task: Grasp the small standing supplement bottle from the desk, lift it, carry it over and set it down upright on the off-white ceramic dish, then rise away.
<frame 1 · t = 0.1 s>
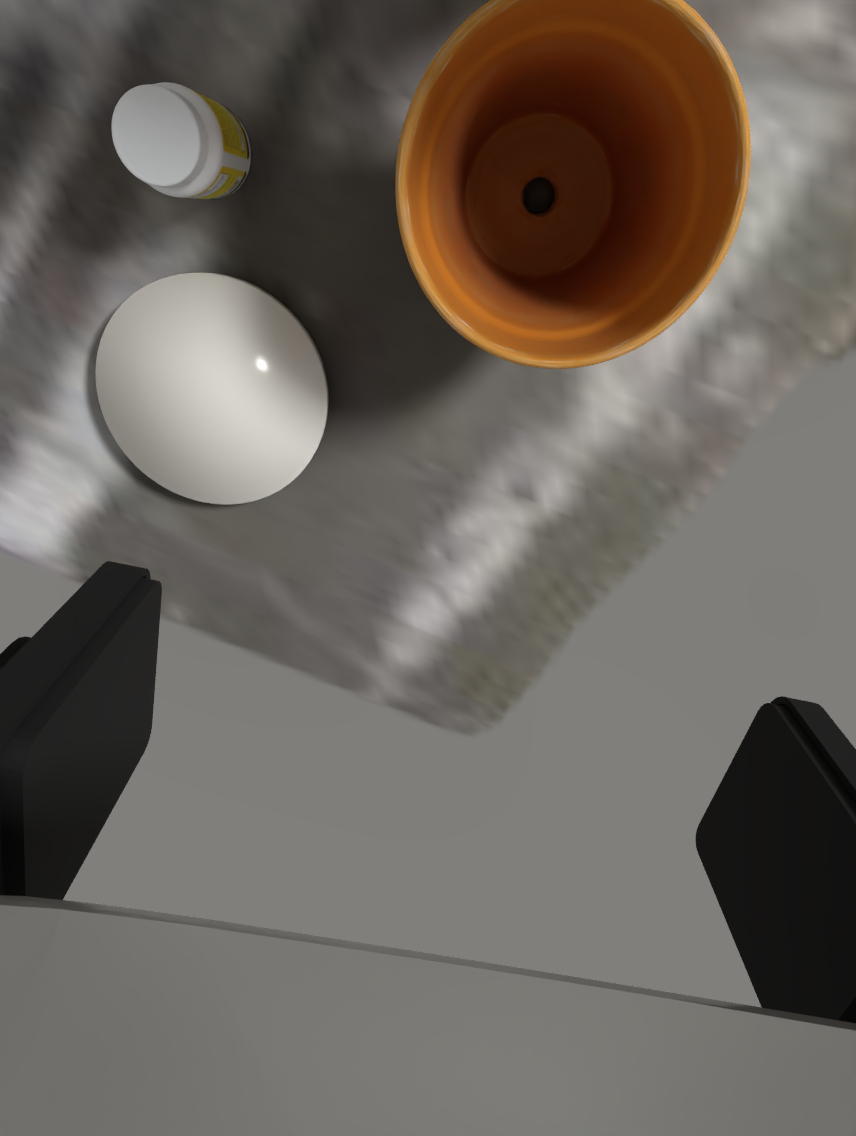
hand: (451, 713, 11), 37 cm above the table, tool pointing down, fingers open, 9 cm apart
dish: (218, 391, 45), on the table
flower pot: (532, 198, 41), on the table
supplement bottle: (210, 151, 40), on the table
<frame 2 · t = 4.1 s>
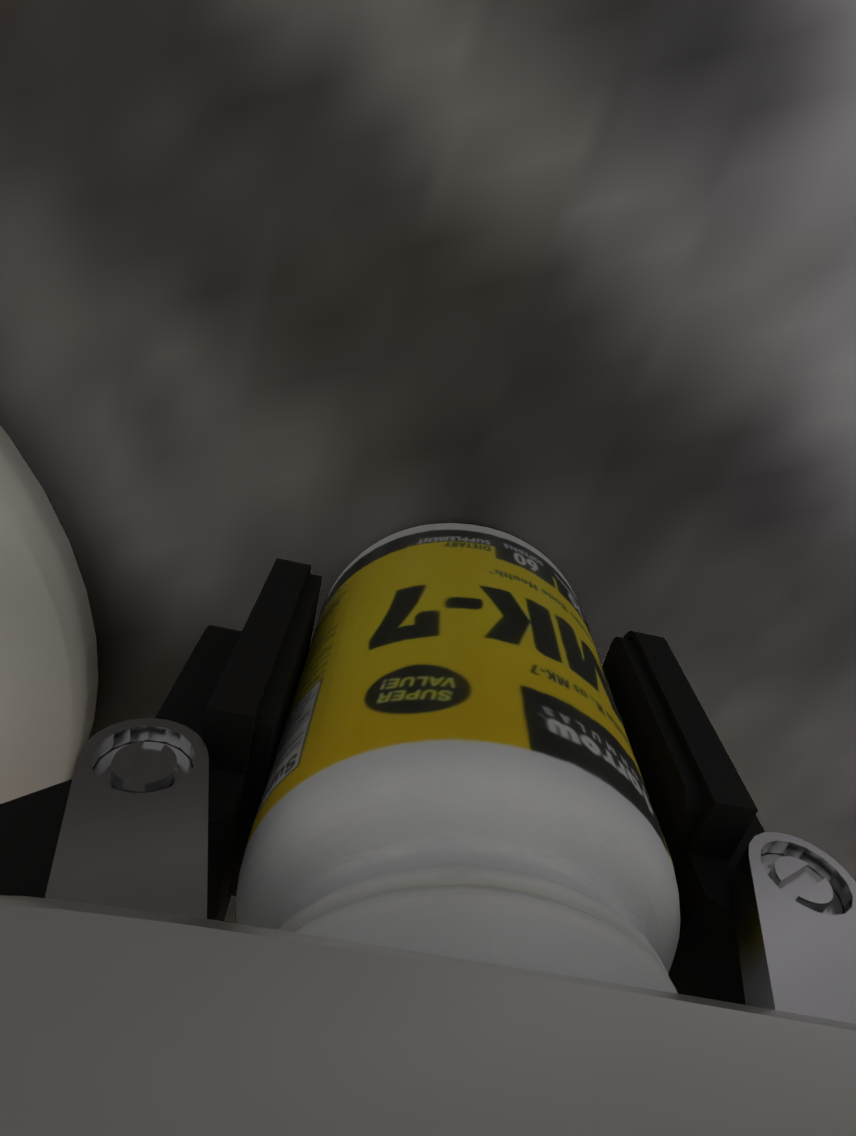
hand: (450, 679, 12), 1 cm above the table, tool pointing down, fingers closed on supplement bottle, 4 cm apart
supplement bottle: (449, 629, 13), on the table, touching gripper
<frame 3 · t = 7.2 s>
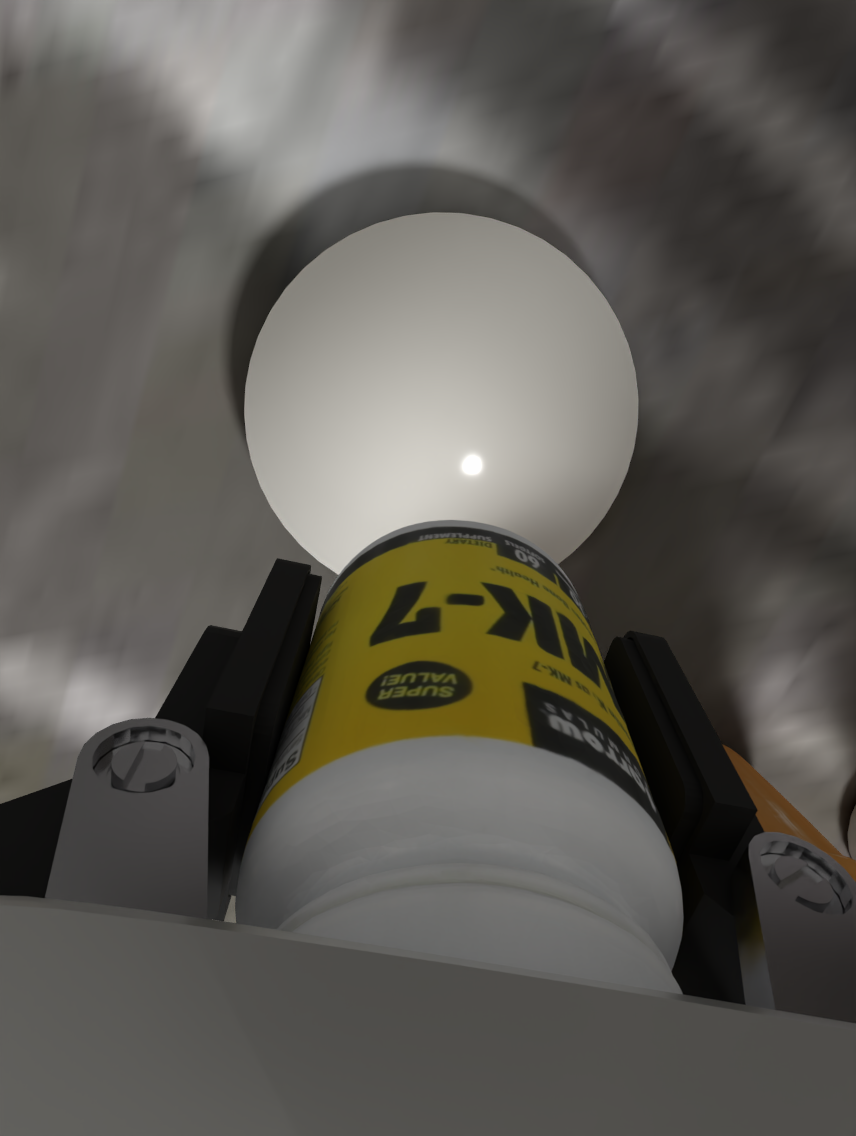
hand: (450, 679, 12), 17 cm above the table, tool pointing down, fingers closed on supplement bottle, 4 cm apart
dish: (440, 419, 27), on the table
flower pot: (663, 799, 36), on the table
supplement bottle: (450, 626, 13), point 15 cm above the table, touching gripper
when the fingers open (4 cm above the table, at t = 10.2 s): supplement bottle drops 1 cm, resting on dish.
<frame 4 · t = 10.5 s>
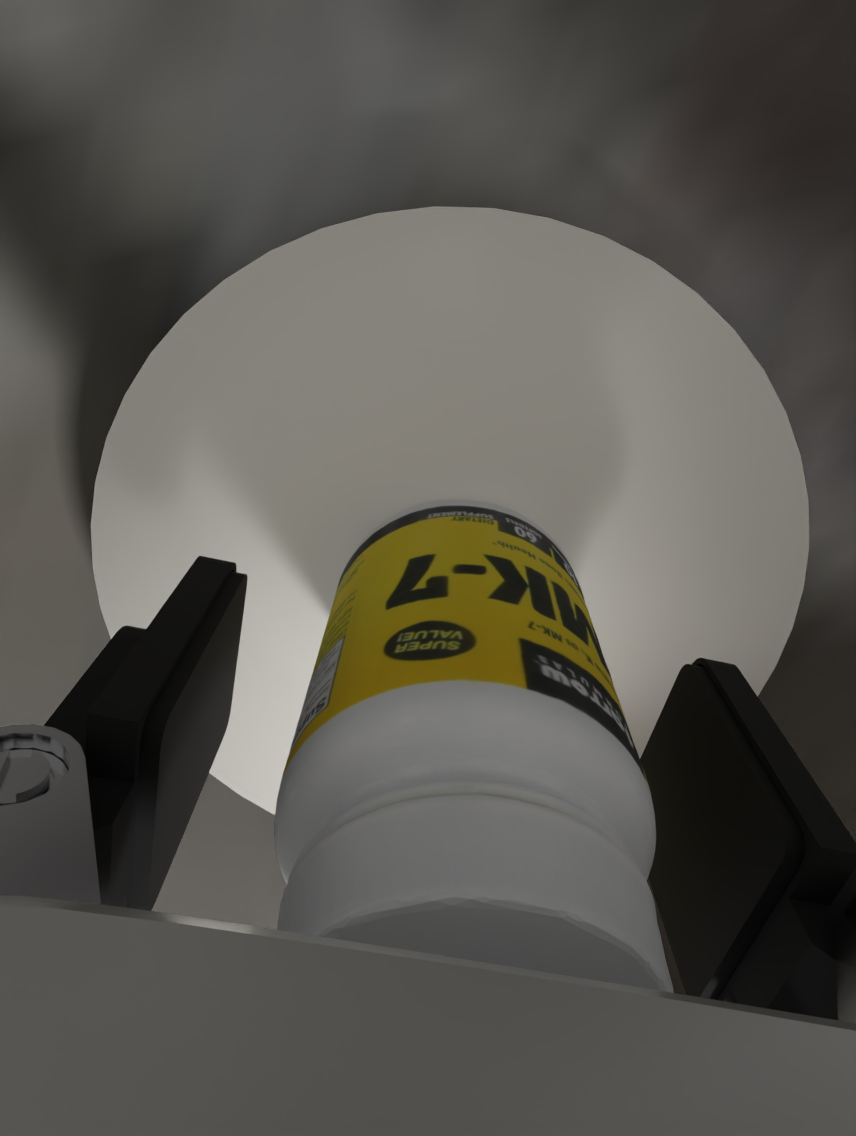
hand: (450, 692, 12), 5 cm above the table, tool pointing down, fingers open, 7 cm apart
dish: (446, 564, 16), on the table
supplement bottle: (456, 598, 15), point 1 cm above the table, touching dish
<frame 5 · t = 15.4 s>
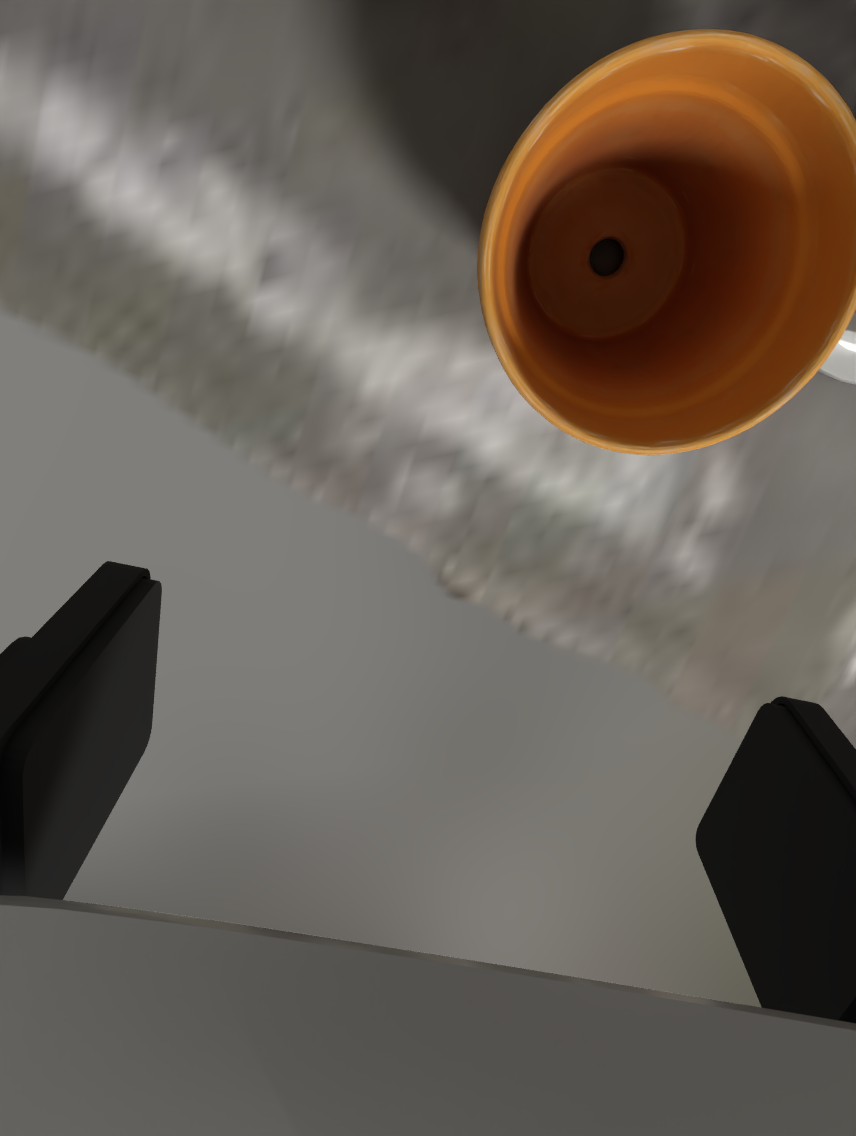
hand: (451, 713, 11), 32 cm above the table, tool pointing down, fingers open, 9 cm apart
flower pot: (601, 252, 38), on the table
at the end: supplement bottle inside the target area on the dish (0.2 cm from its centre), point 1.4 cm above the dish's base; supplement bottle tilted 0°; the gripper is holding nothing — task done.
